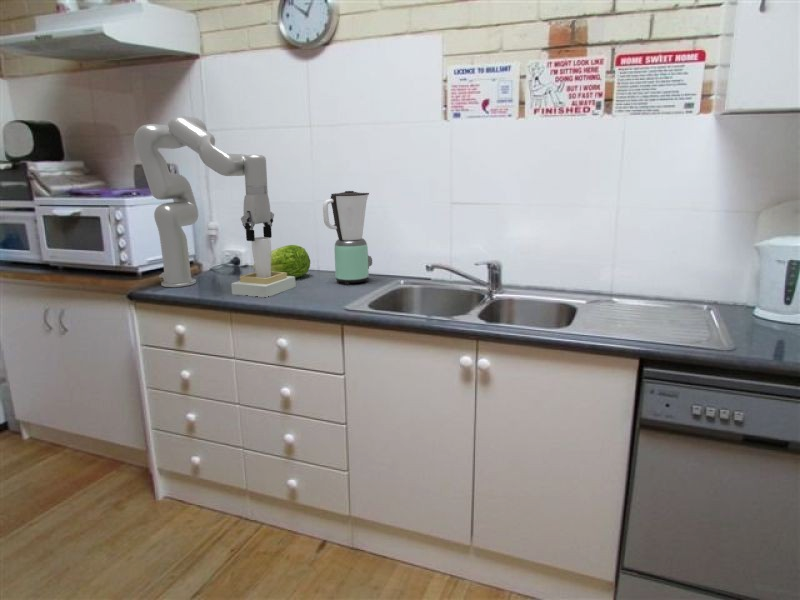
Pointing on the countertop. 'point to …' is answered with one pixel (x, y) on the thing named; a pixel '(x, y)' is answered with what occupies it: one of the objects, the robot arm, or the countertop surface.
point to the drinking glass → (262, 256)
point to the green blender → (349, 236)
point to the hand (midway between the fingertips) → (259, 239)
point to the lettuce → (290, 260)
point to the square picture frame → (263, 284)
